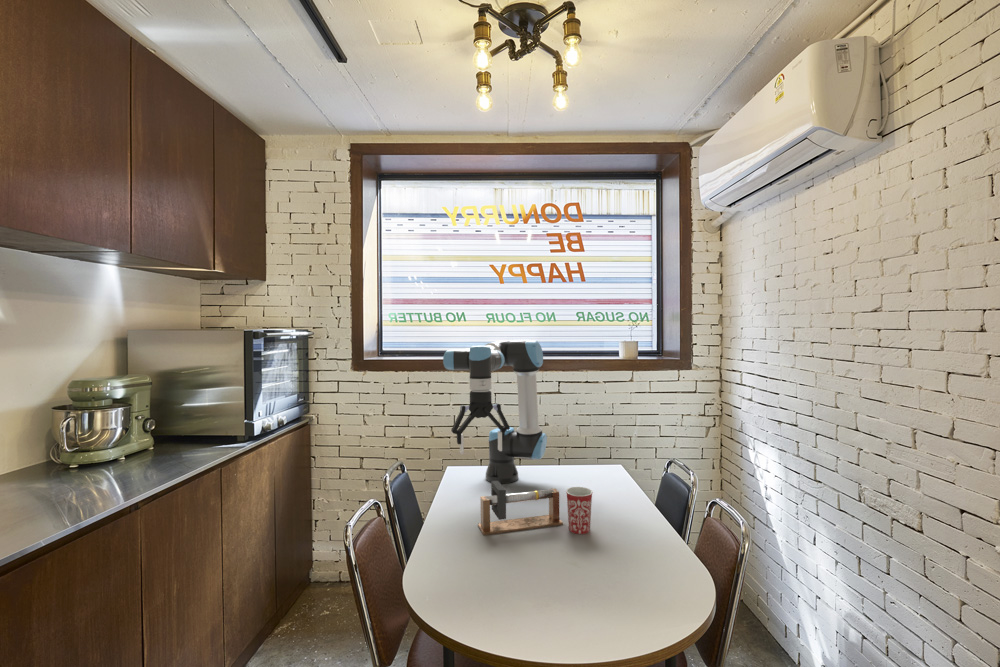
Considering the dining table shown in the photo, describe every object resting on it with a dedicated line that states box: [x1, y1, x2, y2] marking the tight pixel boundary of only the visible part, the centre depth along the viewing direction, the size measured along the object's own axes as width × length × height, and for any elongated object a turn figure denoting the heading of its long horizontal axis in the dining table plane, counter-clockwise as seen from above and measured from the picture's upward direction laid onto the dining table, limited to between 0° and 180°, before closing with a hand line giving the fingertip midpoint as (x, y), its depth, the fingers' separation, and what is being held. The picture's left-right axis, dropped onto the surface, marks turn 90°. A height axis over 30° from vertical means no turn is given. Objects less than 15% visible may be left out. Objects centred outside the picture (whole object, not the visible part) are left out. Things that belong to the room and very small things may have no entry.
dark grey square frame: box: [490, 481, 507, 521], centre depth 166 cm, size 2×10×10 cm, turn 16°
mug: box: [565, 486, 594, 535], centre depth 166 cm, size 13×9×14 cm
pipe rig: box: [477, 488, 564, 536], centre depth 168 cm, size 29×8×12 cm, turn 106°
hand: (481, 452), depth 164 cm, fingers open, 13 cm apart
